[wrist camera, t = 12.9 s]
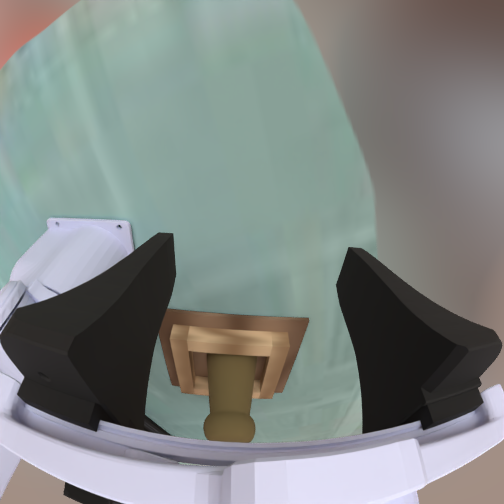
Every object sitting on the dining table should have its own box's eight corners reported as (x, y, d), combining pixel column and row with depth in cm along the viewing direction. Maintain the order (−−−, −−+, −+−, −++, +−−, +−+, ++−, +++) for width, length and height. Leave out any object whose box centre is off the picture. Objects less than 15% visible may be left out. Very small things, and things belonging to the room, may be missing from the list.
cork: (259, 370, 33) (261, 450, 23) (211, 371, 33) (205, 450, 24) (255, 341, 29) (257, 434, 20) (201, 344, 30) (190, 433, 20)
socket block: (172, 383, 36) (170, 396, 34) (154, 307, 27) (149, 324, 25) (281, 390, 37) (283, 404, 35) (308, 318, 28) (312, 335, 26)
